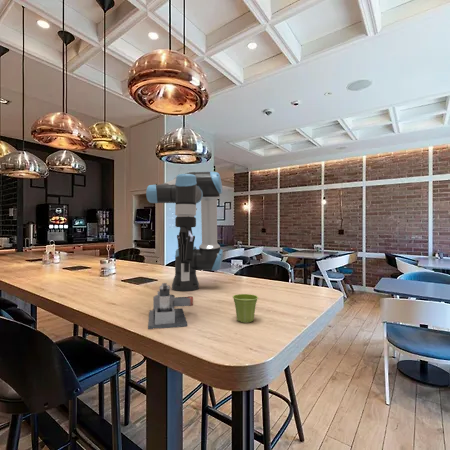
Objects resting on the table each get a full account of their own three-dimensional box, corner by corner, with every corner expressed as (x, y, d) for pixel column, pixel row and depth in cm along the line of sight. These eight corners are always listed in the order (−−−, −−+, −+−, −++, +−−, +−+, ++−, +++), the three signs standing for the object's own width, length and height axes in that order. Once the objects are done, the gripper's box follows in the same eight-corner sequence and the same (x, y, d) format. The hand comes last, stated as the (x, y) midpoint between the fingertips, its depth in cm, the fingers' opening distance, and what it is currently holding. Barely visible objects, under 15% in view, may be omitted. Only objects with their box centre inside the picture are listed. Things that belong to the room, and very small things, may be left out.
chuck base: (182, 310, 114) (182, 298, 114) (187, 326, 96) (187, 311, 96) (149, 312, 111) (149, 300, 111) (148, 329, 93) (148, 314, 93)
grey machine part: (191, 307, 114) (192, 280, 114) (194, 313, 107) (194, 284, 107) (153, 309, 111) (153, 282, 111) (153, 315, 103) (153, 286, 103)
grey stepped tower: (169, 318, 101) (169, 282, 102) (170, 323, 96) (170, 285, 96) (159, 319, 101) (159, 283, 101) (159, 324, 95) (159, 286, 95)
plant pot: (231, 316, 107) (231, 293, 107) (255, 316, 108) (255, 293, 108) (234, 324, 98) (234, 300, 98) (260, 324, 99) (260, 299, 99)
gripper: (202, 216, 99) (201, 282, 99) (189, 217, 110) (188, 277, 110) (181, 215, 95) (181, 284, 95) (170, 216, 107) (170, 278, 107)
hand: (185, 280), depth 103 cm, fingers closed
